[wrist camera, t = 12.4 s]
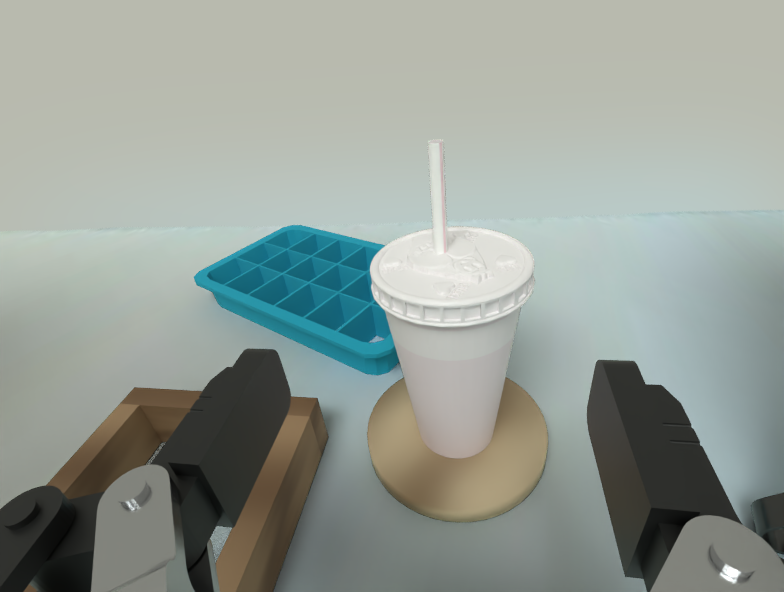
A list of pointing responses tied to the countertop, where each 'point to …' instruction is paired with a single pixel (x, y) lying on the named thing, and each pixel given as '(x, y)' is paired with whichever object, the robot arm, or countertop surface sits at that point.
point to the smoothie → (453, 319)
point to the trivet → (458, 476)
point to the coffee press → (770, 520)
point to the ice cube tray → (309, 294)
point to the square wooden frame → (265, 503)
